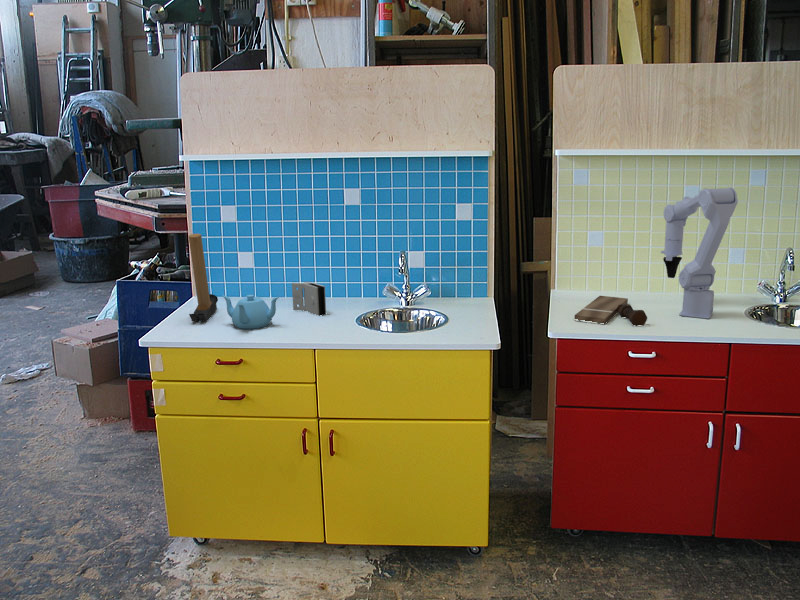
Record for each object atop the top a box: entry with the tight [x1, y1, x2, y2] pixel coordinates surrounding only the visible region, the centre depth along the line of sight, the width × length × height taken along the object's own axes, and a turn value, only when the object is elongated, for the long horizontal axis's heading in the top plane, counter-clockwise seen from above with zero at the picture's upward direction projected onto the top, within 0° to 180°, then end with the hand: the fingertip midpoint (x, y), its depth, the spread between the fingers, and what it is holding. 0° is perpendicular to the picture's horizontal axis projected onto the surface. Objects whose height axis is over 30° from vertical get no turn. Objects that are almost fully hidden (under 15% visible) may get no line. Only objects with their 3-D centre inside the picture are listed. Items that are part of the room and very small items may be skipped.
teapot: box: [221, 294, 281, 330], centre depth 248 cm, size 15×15×10 cm
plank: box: [574, 295, 629, 325], centre depth 257 cm, size 10×30×2 cm, turn 150°
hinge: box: [291, 281, 327, 316], centre depth 264 cm, size 14×5×10 cm, turn 51°
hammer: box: [188, 233, 219, 322], centre depth 256 cm, size 20×5×30 cm, turn 0°
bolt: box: [617, 304, 648, 326], centre depth 247 cm, size 6×5×15 cm
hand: (671, 277), depth 265 cm, fingers closed
